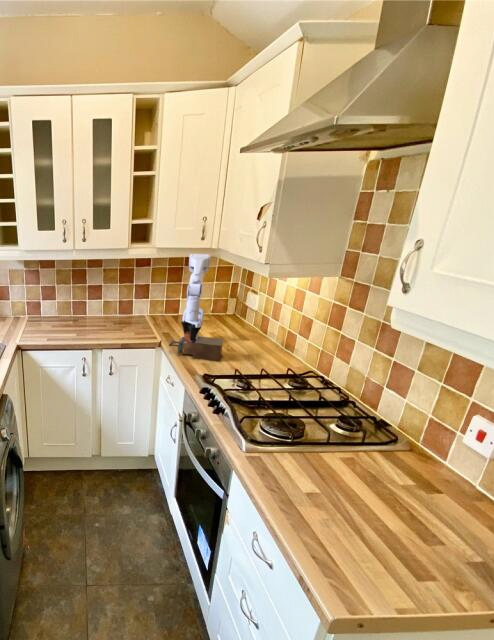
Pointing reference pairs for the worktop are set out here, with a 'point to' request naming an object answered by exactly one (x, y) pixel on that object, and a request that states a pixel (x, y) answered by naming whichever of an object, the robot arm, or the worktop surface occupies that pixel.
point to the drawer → (184, 346)
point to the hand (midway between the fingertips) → (189, 338)
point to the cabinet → (208, 348)
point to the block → (187, 337)
